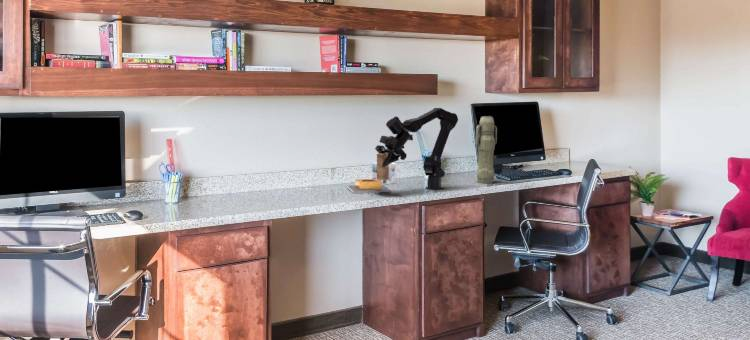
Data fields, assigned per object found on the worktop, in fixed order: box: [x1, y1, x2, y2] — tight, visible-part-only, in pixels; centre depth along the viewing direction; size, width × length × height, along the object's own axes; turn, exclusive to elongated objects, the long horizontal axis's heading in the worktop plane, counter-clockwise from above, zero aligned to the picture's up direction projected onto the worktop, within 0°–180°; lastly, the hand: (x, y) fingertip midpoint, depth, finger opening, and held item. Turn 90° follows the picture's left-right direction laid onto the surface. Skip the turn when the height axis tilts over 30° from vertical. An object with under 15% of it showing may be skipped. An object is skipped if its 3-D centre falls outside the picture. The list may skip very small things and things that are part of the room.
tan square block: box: [376, 153, 389, 180], centre depth 329 cm, size 4×4×12 cm
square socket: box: [346, 178, 392, 194], centre depth 342 cm, size 18×18×5 cm
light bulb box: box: [371, 162, 397, 185], centre depth 367 cm, size 11×7×11 cm, turn 123°
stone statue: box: [475, 115, 498, 185], centre depth 370 cm, size 9×12×35 cm
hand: (380, 165), depth 328 cm, fingers closed on tan square block, 4 cm apart
